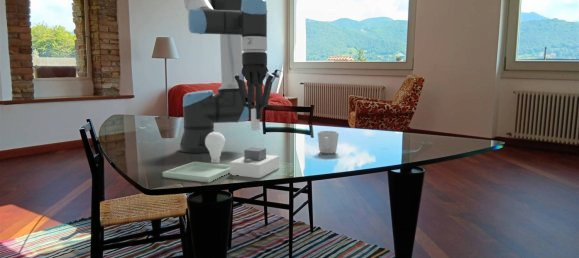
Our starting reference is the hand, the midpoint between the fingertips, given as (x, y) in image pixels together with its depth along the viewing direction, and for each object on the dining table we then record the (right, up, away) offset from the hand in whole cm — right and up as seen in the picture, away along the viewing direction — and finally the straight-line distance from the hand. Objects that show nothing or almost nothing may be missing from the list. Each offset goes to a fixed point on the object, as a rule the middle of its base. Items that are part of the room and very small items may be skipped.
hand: (255, 129), depth 129 cm
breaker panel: (0, -13, +2) cm, 13 cm away
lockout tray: (-17, -13, -1) cm, 21 cm away
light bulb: (-14, -12, +12) cm, 22 cm away
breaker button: (0, -10, +2) cm, 10 cm away
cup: (+25, -9, +32) cm, 41 cm away
